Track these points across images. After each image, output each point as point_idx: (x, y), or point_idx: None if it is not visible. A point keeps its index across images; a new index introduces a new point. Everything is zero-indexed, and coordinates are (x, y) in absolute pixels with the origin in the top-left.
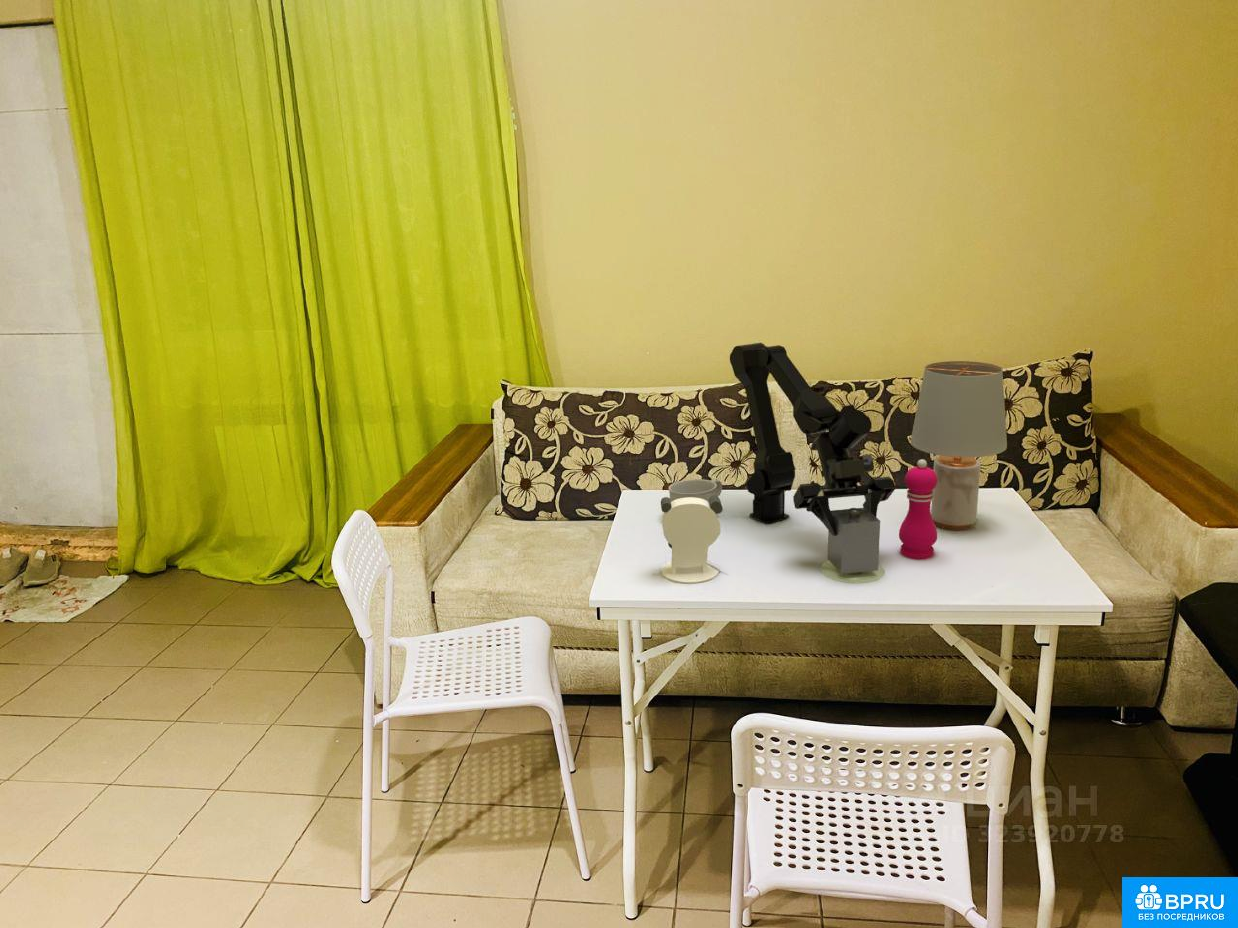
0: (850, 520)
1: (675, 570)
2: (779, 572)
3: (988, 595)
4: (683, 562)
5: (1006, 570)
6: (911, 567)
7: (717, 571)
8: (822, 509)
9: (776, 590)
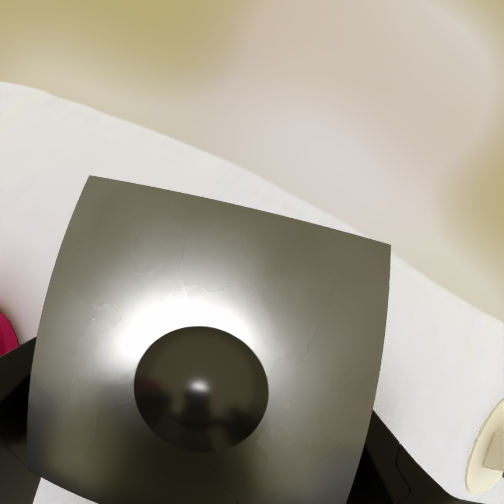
0: (302, 290)
1: None
2: (392, 424)
3: (40, 116)
4: None
5: None
6: (36, 298)
7: (480, 437)
8: (438, 485)
9: (436, 325)
